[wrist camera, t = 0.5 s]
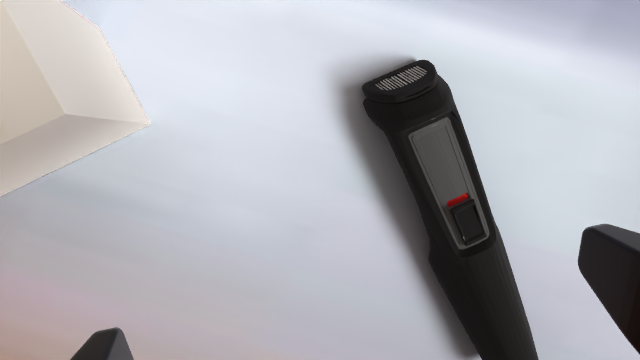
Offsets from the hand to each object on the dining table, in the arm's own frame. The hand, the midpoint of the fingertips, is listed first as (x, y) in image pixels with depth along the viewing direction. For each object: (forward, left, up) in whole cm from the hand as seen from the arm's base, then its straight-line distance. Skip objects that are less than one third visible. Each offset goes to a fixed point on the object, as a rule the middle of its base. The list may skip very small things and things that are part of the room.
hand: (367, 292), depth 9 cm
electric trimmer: (0, -7, -14) cm, 15 cm away
